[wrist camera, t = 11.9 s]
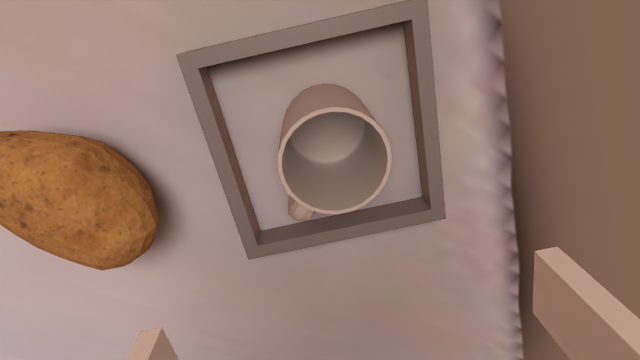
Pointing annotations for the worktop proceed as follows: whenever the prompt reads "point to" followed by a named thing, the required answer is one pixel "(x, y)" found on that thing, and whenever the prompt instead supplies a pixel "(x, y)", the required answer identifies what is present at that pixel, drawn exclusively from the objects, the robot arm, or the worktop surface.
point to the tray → (342, 224)
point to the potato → (75, 198)
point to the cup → (331, 153)
